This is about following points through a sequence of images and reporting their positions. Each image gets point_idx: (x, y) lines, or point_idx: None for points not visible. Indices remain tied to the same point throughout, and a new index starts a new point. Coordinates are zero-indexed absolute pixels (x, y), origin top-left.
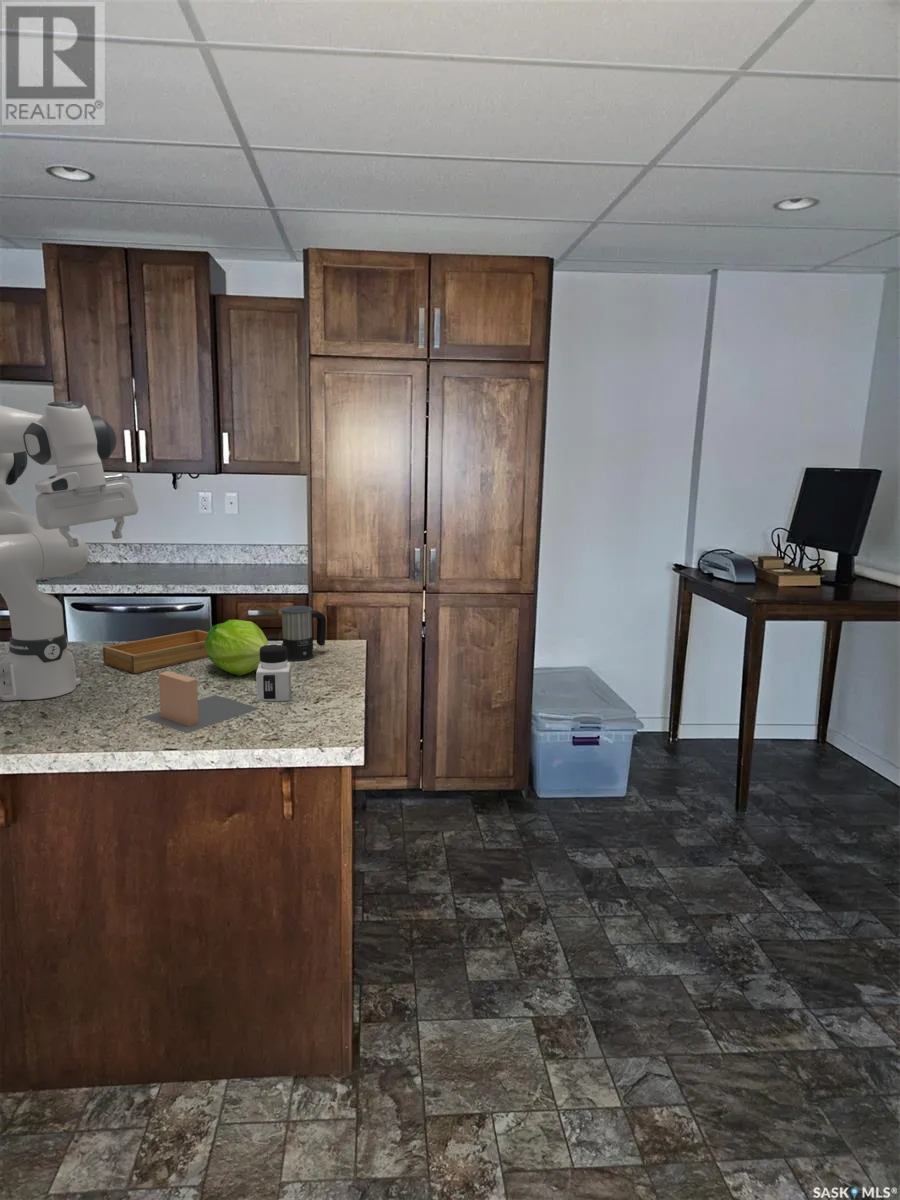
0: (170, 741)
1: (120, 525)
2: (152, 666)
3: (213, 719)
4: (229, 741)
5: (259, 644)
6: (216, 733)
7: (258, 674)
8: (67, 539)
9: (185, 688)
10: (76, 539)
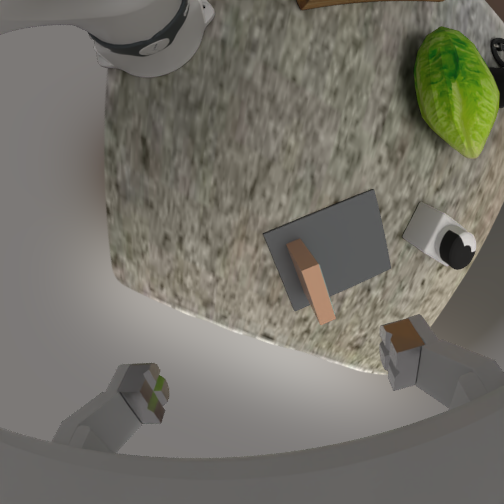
0: (273, 318)
1: (445, 400)
2: (333, 3)
3: (335, 282)
4: (323, 338)
5: (474, 153)
6: None
7: (423, 252)
8: (107, 393)
9: (316, 316)
10: (157, 419)
